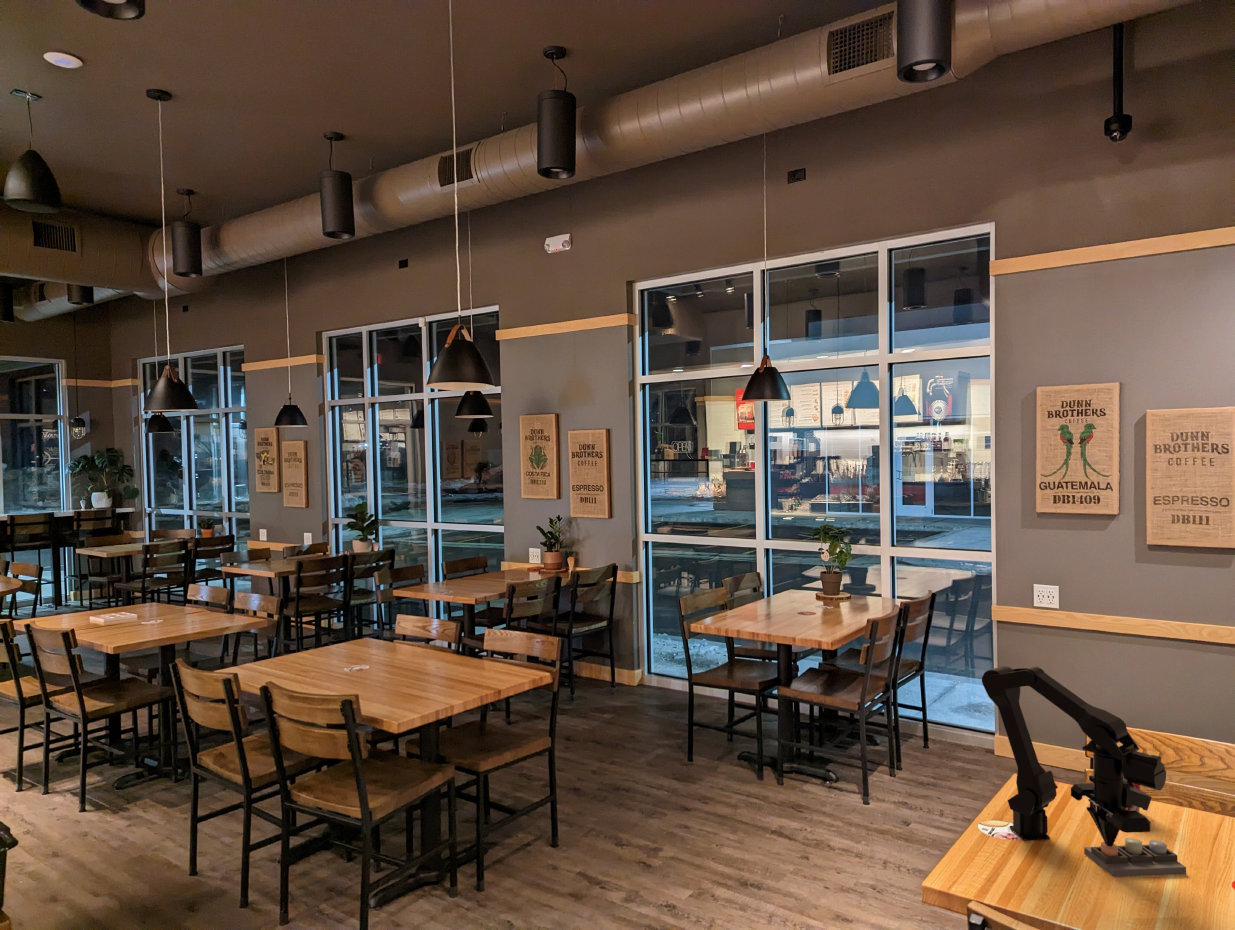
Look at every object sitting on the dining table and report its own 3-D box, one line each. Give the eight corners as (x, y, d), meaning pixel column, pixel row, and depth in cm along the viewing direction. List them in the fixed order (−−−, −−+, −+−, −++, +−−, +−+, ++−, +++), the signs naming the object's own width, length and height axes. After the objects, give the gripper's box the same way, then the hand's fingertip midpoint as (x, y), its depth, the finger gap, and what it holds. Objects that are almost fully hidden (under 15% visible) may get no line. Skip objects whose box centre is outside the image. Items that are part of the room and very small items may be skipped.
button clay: (1107, 859, 174) (1107, 849, 174) (1097, 852, 177) (1097, 842, 177) (1121, 858, 174) (1121, 848, 174) (1111, 851, 177) (1111, 841, 177)
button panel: (1113, 877, 170) (1113, 864, 170) (1084, 853, 180) (1084, 841, 180) (1186, 874, 171) (1186, 861, 171) (1152, 851, 181) (1152, 838, 181)
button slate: (1156, 857, 174) (1156, 847, 174) (1145, 850, 177) (1145, 840, 177) (1170, 856, 174) (1170, 846, 174) (1159, 849, 178) (1159, 839, 178)
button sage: (1131, 854, 174) (1131, 844, 174) (1121, 847, 177) (1121, 837, 177) (1145, 854, 174) (1145, 844, 174) (1135, 847, 177) (1135, 837, 177)
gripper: (1175, 791, 166) (1176, 865, 166) (1115, 757, 185) (1116, 824, 185) (1123, 793, 166) (1124, 867, 166) (1069, 759, 184) (1069, 826, 185)
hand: (1109, 845), depth 175 cm, fingers closed, pressing on button clay
